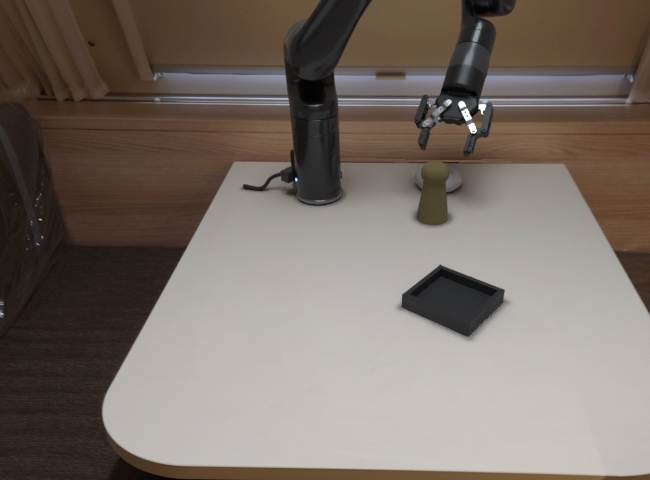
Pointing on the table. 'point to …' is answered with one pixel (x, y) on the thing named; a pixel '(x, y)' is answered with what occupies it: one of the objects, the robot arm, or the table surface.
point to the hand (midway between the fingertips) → (443, 151)
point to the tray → (453, 299)
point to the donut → (451, 183)
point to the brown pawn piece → (433, 194)
